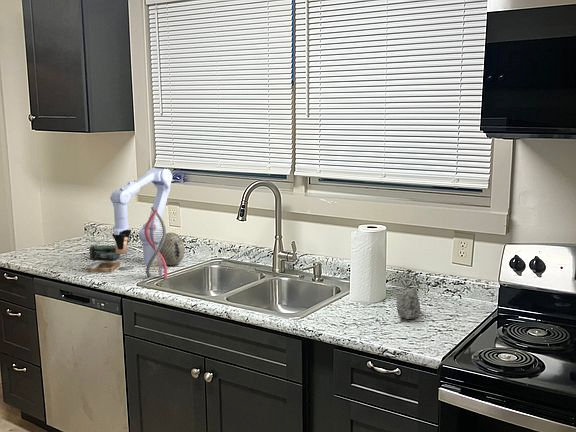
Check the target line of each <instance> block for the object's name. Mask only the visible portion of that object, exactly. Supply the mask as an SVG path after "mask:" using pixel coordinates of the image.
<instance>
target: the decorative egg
mask: <svg viewBox="0 0 576 432" xmlns="http://www.w3.org/2000/svg"><path fill="white" fill-rule="evenodd" d="M161 240H162V239H161ZM160 242H161V241H160ZM159 245H160V243H159ZM185 250H186V249H185V244H184V240H182V238H181V236H180V235H178V234H177V233H175V232H166V237H165V241H164V243H163V246H162V248H161V250H160V251H159V252H160V254H161V255H162V256H163V258H164V260H165V262H166V265H169V266H175V265H178V264H179V263H180V262H182V260H183V259H184V257H185V252H186V251H185Z"/></svg>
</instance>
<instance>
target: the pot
mask: <svg viewBox="0 0 576 432" xmlns="http://www.w3.org/2000/svg"><path fill="white" fill-rule="evenodd" d="M127 240H128V241H129V239H128V237H125V239H124V247H123V249H118V247H117V244H116V243H115V246H116V253H117V254H120V255H127V253H128V245H127Z"/></svg>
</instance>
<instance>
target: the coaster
mask: <svg viewBox="0 0 576 432" xmlns="http://www.w3.org/2000/svg"><path fill="white" fill-rule="evenodd" d="M134 269H135V266H129V265H128V266H127V265H125V266H119V267H118V270H119V271H123V272H125V271H131V270H134Z"/></svg>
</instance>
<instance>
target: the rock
mask: <svg viewBox="0 0 576 432" xmlns="http://www.w3.org/2000/svg"><path fill="white" fill-rule="evenodd" d="M420 304H421V303H420V298H419V295H418V291H417V288H416V287H411V288H409V289H405V290H402V291H401V292H399V293H397V294H396V309H397V313H398V316H399V318H400V319H401V318H404V319H405V320H412V319H413V320H414V319H417V318H418V317H420V314H421V305H420ZM419 313H420V314H419Z"/></svg>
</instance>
